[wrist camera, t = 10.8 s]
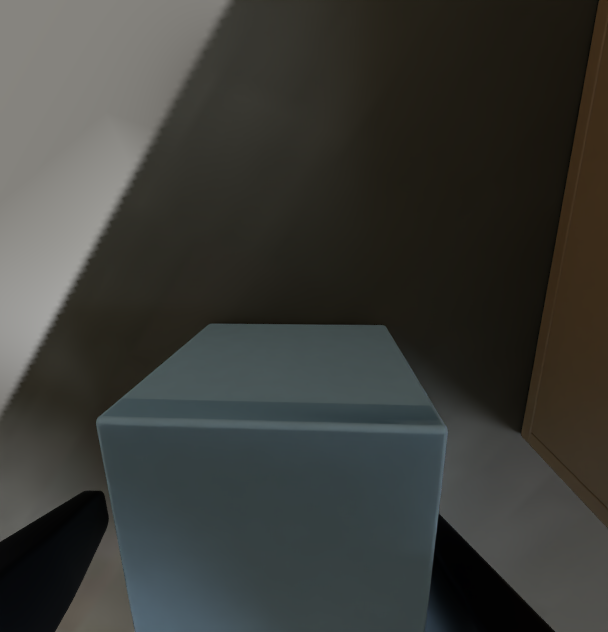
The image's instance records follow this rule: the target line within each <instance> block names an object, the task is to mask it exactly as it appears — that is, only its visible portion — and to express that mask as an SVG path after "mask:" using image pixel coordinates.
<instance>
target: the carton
mask: <svg viewBox="0 0 608 632" xmlns="http://www.w3.org/2000/svg"><path fill="white" fill-rule="evenodd" d="M521 436H522V437H523V438H524V439H525V440H526V441H527V442H528V443H529V444H530V446H531V447H532V448H533V449H534V450H535V451H536V452H537V453H538V454H539V455H540V456H541V457H542V458H543V460H544V461H545V462H546V463H547V464H548V465H549V466H550V467H551V468H552V469H553V470H554V471H555V472H556V474H557V475H558V476H559V477H560V478H561V479H562V480H563V481H564V482H565V483H566V484H567V485H568V486H569V487H570V489H571V490H572V491H573V492H574V493H575V494H576V495H577V496H578V497H579V498H580V499H581V500H582V501H583V502H584V504H585V505H586V506H587V507H588V508H589V509H590V510H591V511H592V512H593V513H594V514H595V515H596V516H597V517H598V519H599V520H600V521H601V522H602V523H603V524H604V525H605V526H606V527H607V528H608V0H599V3H598V9H597V14H596V20H595V25H594V31H593V36H592V42H591V48H590V53H589V59H588V64H587V70H586V75H585V81H584V87H583V92H582V98H581V103H580V109H579V115H578V120H577V126H576V131H575V137H574V142H573V148H572V154H571V159H570V165H569V170H568V176H567V181H566V187H565V193H564V198H563V204H562V209H561V215H560V220H559V226H558V232H557V237H556V243H555V248H554V254H553V259H552V265H551V271H550V276H549V282H548V287H547V293H546V299H545V304H544V310H543V315H542V321H541V326H540V332H539V338H538V343H537V349H536V354H535V360H534V365H533V371H532V377H531V382H530V388H529V393H528V399H527V404H526V410H525V416H524V421H523V427H522V432H521Z"/></svg>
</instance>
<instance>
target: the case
mask: <svg viewBox="0 0 608 632" xmlns="http://www.w3.org/2000/svg"><path fill="white" fill-rule="evenodd" d="M96 427H97V432H98V437H99V443H100V448H101V453H102V459H103V464H104V469H105V475H106V480H107V485H108V491H109V496H110V501H111V507H112V512H113V517H114V523H115V528H116V533H117V539H118V544H119V549H120V555H121V560H122V565H123V571H124V576H125V581H126V587H127V592H128V597H129V603H130V608H131V613H132V618H133V624H134V629H135V632H425V627H426V618H427V610H428V601H429V592H430V584H431V575H432V567H433V558H434V549H435V541H436V532H437V523H438V515H439V506H440V497H441V489H442V480H443V471H444V463H445V454H446V445H447V437H448V429H447V427H446V425H445V423H444V422H443V420H442V418H441V417H440V415H439V413H438V412H437V410H436V409H435V407H434V405H433V404H432V402H431V400H430V399H429V397H428V395H427V394H426V392H425V390H424V389H423V387H422V385H421V384H420V382H419V380H418V379H417V377H416V375H415V374H414V372H413V371H412V369H411V367H410V366H409V364H408V362H407V361H406V359H405V357H404V356H403V354H402V352H401V351H400V349H399V347H398V346H397V344H396V342H395V341H394V339H393V337H392V336H391V334H390V333H389V331H388V329H387V328H386V326H384V325H310V324H209V325H207V326H206V327H205V328H204V329H203V330H201V331H200V332H199V333H198V334H197V335H195V336H194V337H193V338H192V339H191V340H190V341H188V342H187V343H186V344H185V345H184V346H182V347H181V348H180V349H179V350H178V351H176V352H175V353H174V354H173V355H172V356H171V357H169V358H168V359H167V360H166V361H165V362H163V363H162V364H161V365H160V366H159V367H157V368H156V369H155V370H154V371H153V372H152V373H150V374H149V375H148V376H147V377H146V378H144V379H143V380H142V381H141V382H140V383H138V384H137V385H136V386H135V387H134V388H133V389H131V390H130V391H129V392H128V393H127V394H125V395H124V396H123V397H122V398H121V399H119V400H118V401H117V402H116V403H115V404H114V405H112V406H111V407H110V408H109V409H108V410H106V411H105V412H104V413H103V414H102V415H100V416H99V417H98V418H97V420H96Z"/></svg>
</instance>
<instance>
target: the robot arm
mask: <svg viewBox="0 0 608 632" xmlns="http://www.w3.org/2000/svg"><path fill="white" fill-rule="evenodd" d="M108 521H109V516H108V511H107V505H106V500H105V495H104V493H103V492H102V491H84V492H82V493H80V494H78V495H77V496H75V497H73V498H72V499H70V500H69V501H67V502H65V503H64V504H62V505H60V506H59V507H57V508H55V509H54V510H52V511H50V512H49V513H47V514H45V515H44V516H42V517H41V518H39V519H37V520H36V521H34V522H32V523H31V524H29V525H27V526H26V527H24V528H22V529H21V530H19V531H17V532H16V533H14V534H13V535H11V536H9V537H8V538H6V539H4V540H3V541H1V542H0V632H55V631H56V629H57V627H58V625H59V624H60V622H61V620H62V618H63V617H64V615H65V613H66V611H67V610H68V608H69V606H70V604H71V602H72V600H73V598H74V596H75V594H76V592H77V590H78V588H79V586H80V584H81V582H82V580H83V578H84V576H85V574H86V572H87V569H88V567H89V565H90V563H91V561H92V559H93V557H94V554H95V552H96V550H97V548H98V546H99V544H100V542H101V540H102V537H103V535H104V533H105V531H106V529H107V526H108ZM425 632H555V631H554V630H553V629H552V628H551V627H550V626H549V625H548V624H547V623H546V622H545V621H544V620H543V619H542V618H541V617H540V616H539V615H538V614H537V613H536V612H535V611H534V610H533V609H532V608H531V607H530V606H529V605H528V604H527V603H526V602H525V601H524V600H523V599H522V598H521V597H520V596H519V595H518V594H517V593H516V592H515V591H514V589H513V588H512V587H511V586H510V585H509V584H508V583H507V582H506V581H505V580H504V579H503V578H502V577H501V576H500V575H499V574H498V573H497V572H496V571H495V570H494V569H493V568H492V567H491V566H490V565H489V564H488V563H487V562H486V561H485V560H484V559H483V558H482V557H481V556H480V555H479V554H478V553H477V552H476V551H475V550H474V549H473V548H472V547H471V546H470V545H469V544H468V543H467V542H466V541H465V540H464V539H463V538H462V537H461V536H460V535H459V534H458V532H457V531H456V530H455V529H454V528H453V527H452V526H451V525H450V524H449V523H448V522H447V521H446V520H445V519H444V518H443V517H442V516H441V515H440V514H439V515H438V523H437V532H436V541H435V549H434V558H433V567H432V575H431V584H430V592H429V601H428V610H427V618H426V627H425Z"/></svg>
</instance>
